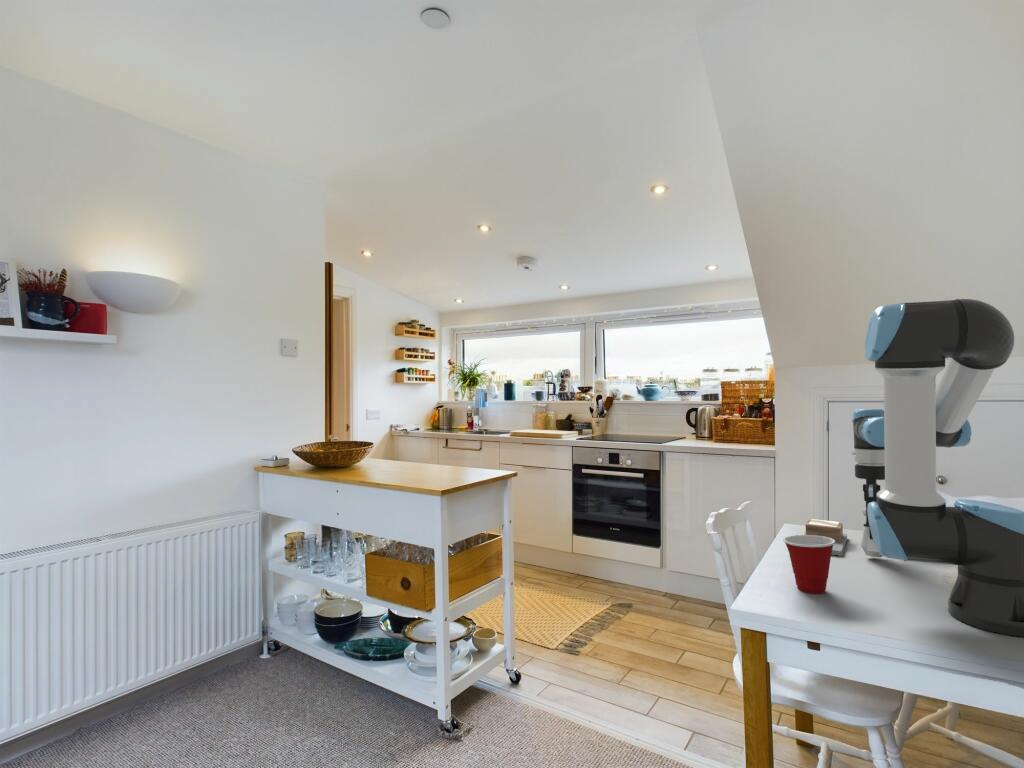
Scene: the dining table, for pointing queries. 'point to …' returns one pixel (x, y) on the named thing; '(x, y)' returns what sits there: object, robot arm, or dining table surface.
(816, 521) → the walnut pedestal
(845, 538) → the build plate
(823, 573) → the plastic cup
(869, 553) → the salt shaker
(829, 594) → the dining table surface
